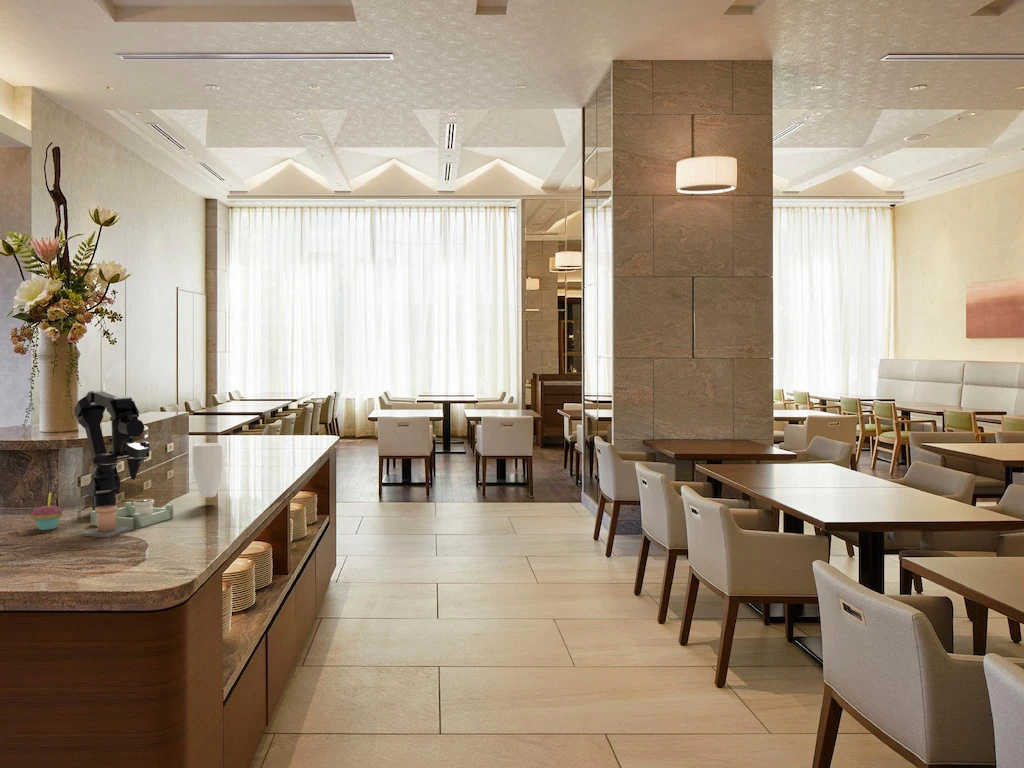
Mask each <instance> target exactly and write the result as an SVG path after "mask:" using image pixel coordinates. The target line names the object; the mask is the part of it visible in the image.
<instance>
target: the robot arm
mask: <svg viewBox="0 0 1024 768" xmlns="http://www.w3.org/2000/svg"><path fill="white" fill-rule="evenodd" d="M73 411H74V412H73V413H74V416H75V417H76V419H77V423H78V424H79V425H80V426H81V427H82V428H84V429H85V434H86V438H87V442H88V446H89V451H90V455H91V459H92V464H93V470H92V473H91V475H90V481H89V483H88V486H87V488H86V491H87V495H88V496H91V497H92V511H94V510H95V508H96V507H99V506H106V505H116V498H115V494H119V493H120V488H121V480H122V479H121V477H120V475H119V472H118V467H117V466H118V463H116V462H117V461H118V460H122V459H126V461H127V465H128V466H127V467H128V471H129V475H130V478H131V480H132V481H133V480H136V477H137V474H138V473H139V469H140V466H141V465H142V463H143V462H144V461H145V460H147V459H148V457H150V451H151V450H150V449H151V446H150V445H151V444H150V442H148V441H141V442H136V438H137V437H140V436H142V435H143V433H144V431H145V424H144V423H143V421H142V420H141V419H139V417H140V414H139V413H140V411H139V409H138V407H137V405H136V403H135V400H134V399H133V398H132V397H131V396H128V395H127V396H126V395H125V396H116V395H115V394H111V393H108V392H105V391H103V390H90V391H88V392H87V394H86V395H85V396H84V397H82V398H80V400H78V401H77V402H76V405H75V407H74V410H73ZM105 411H106V412H107V413H109V415H110V418H109V420H110V422H111V437H110V438H108V442H110V443H111V447H112V448H111V449H112V450H109V452H107V448H106V444H105V438H104V435H103V432H102V431H103V430H102V426H101V424H102V421H103V419H104V412H105Z"/></svg>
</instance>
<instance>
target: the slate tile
mask: <svg viewBox="0 0 1024 768" xmlns="http://www.w3.org/2000/svg"><path fill="white" fill-rule="evenodd" d="M133 530H134V528H133V527H120V526H117V529H116V530H114V531H108V532H98V531H97V528H93V529H89V530H86V531H83V532H80V536H82V537H94V538H95V537H96V538H110V537H111V538H112V537H114V536H117V535H120V534H124V533H128V532H131V531H133Z"/></svg>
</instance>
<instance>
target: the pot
mask: <svg viewBox="0 0 1024 768" xmlns="http://www.w3.org/2000/svg"><path fill="white" fill-rule="evenodd" d="M154 504H155V499H153V498H144V499H137V500H136V499H135V500H133V501H132V506H135V513H141V517H143V516H146V515H150V514H153V508H154Z"/></svg>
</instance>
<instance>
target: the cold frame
mask: <svg viewBox="0 0 1024 768" xmlns="http://www.w3.org/2000/svg"><path fill="white" fill-rule="evenodd" d="M89 515H90V526H95V527H96V526H97V513H96V512H95V510H94V511H93V510H90V511H89ZM131 516H132V517H131ZM170 518H171V519H174V504H170V503H169V504H165V507H153V514H150V515H146V516H143V517H141V513H135V506H134V505H133V501H126V502H124V506H123V507H120V508H118V510H117V511H116V523H117V526H120V527H133V529H141V528H144V527H147V526H151V525H155V524H157V523H161V522H163V520H164V521H167V520H170ZM160 521H161V522H160Z"/></svg>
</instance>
